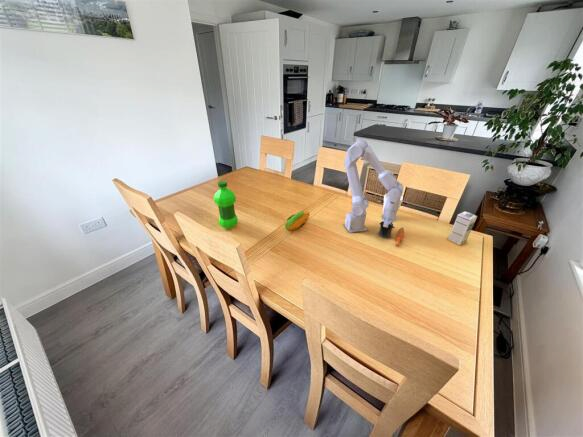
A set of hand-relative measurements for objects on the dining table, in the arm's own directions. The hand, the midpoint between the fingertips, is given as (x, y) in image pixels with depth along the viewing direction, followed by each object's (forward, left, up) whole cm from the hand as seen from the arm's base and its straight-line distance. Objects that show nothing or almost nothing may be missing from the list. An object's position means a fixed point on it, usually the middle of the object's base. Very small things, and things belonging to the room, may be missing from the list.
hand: (385, 232), depth 117 cm
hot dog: (-41, +17, -2) cm, 44 cm away
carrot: (+5, -5, -2) cm, 7 cm away
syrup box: (+32, -11, -2) cm, 34 cm away
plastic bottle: (-77, +23, -2) cm, 80 cm away
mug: (0, 0, -2) cm, 2 cm away
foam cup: (+11, +15, -2) cm, 19 cm away
